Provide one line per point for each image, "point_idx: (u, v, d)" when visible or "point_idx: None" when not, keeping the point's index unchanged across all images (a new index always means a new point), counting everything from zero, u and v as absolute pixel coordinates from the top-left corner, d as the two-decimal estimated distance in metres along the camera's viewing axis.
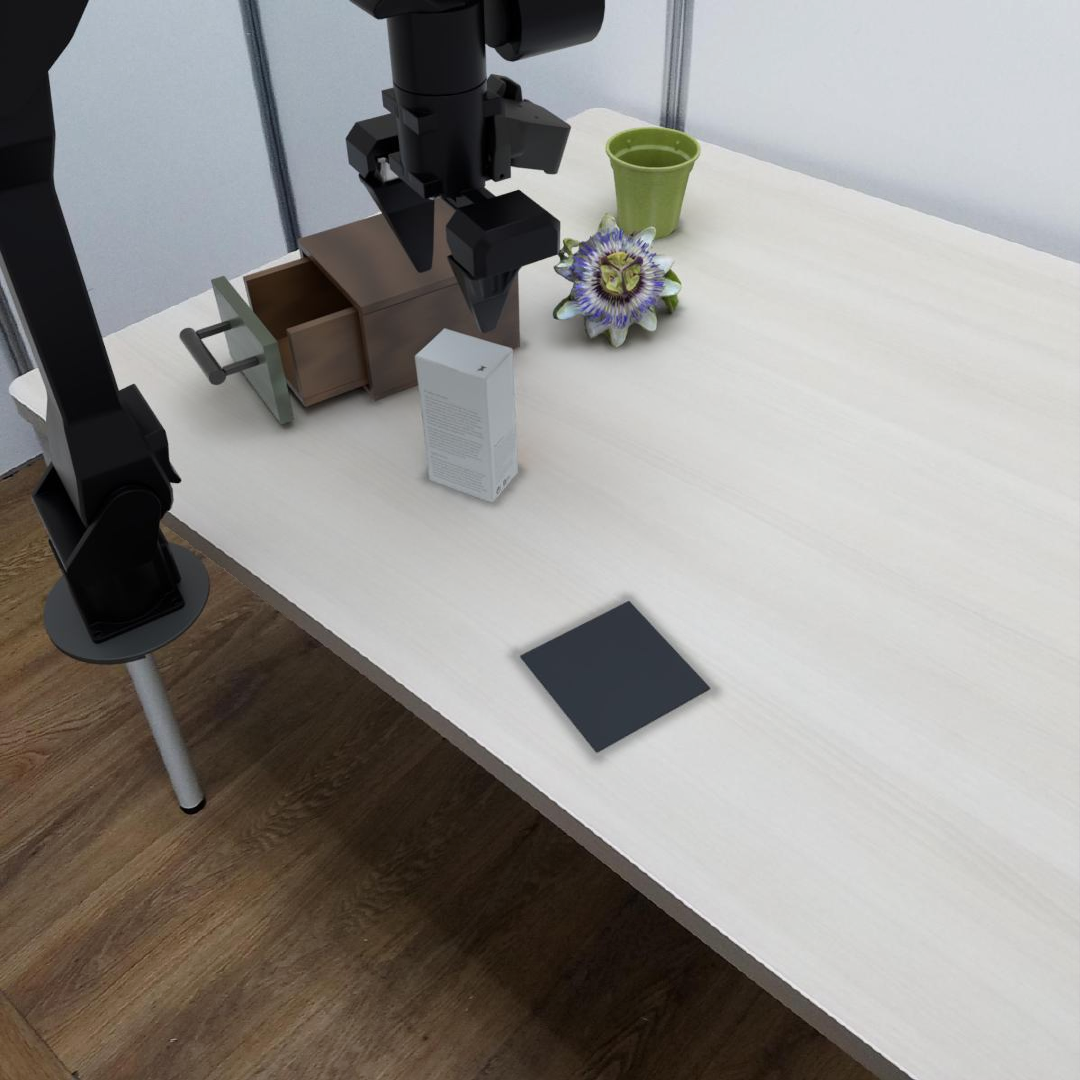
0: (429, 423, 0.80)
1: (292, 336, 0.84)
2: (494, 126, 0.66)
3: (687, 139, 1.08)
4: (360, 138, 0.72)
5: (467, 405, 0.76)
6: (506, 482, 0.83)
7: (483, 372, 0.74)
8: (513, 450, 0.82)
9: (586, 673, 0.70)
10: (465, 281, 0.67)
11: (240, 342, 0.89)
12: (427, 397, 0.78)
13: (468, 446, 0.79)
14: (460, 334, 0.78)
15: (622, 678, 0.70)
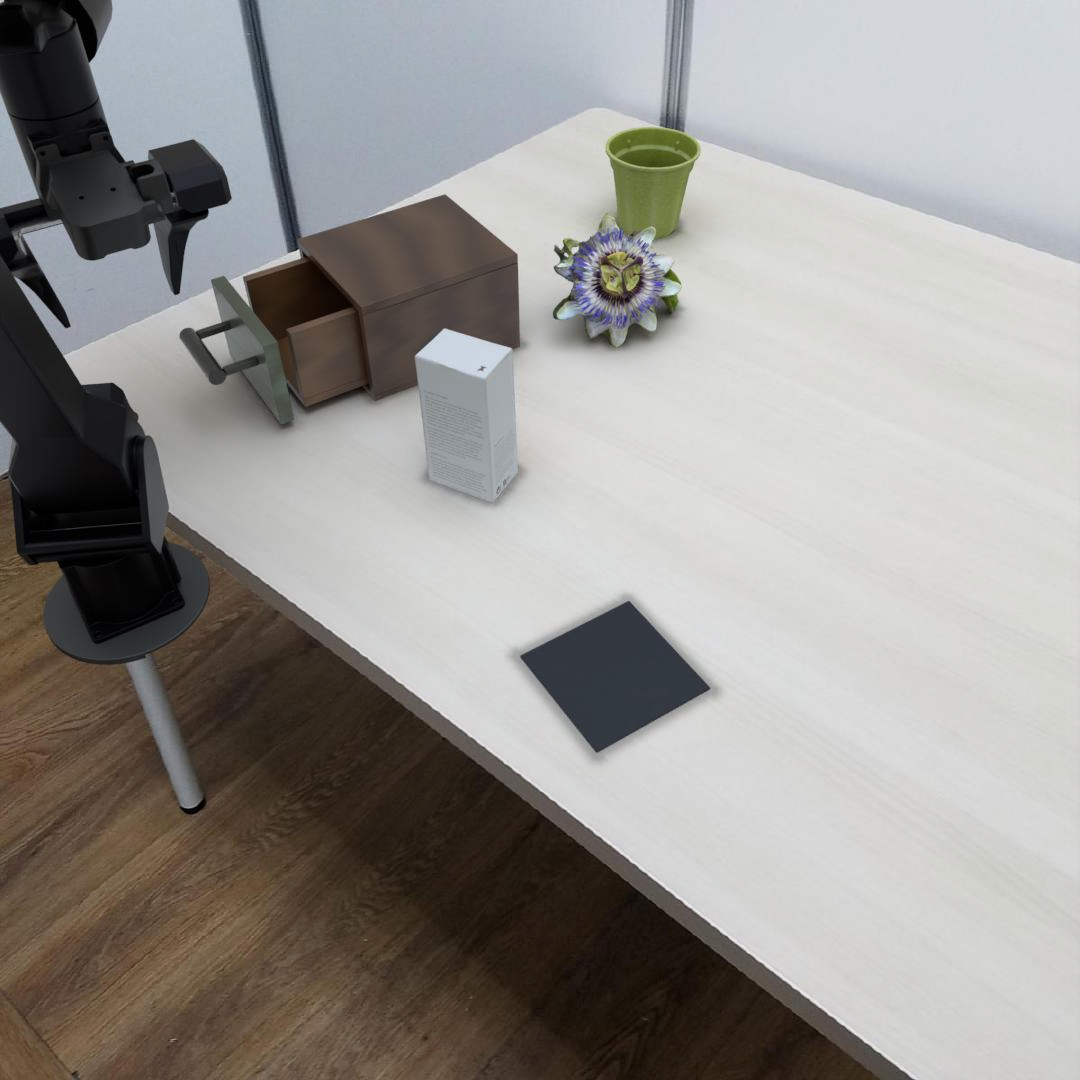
0: (429, 423, 0.80)
1: (292, 336, 0.84)
2: None
3: (687, 139, 1.08)
4: None
5: (467, 405, 0.76)
6: (506, 482, 0.83)
7: (483, 372, 0.74)
8: (513, 450, 0.82)
9: (586, 673, 0.70)
10: None
11: (240, 342, 0.89)
12: (427, 397, 0.78)
13: (468, 446, 0.79)
14: (460, 334, 0.78)
15: (622, 678, 0.70)
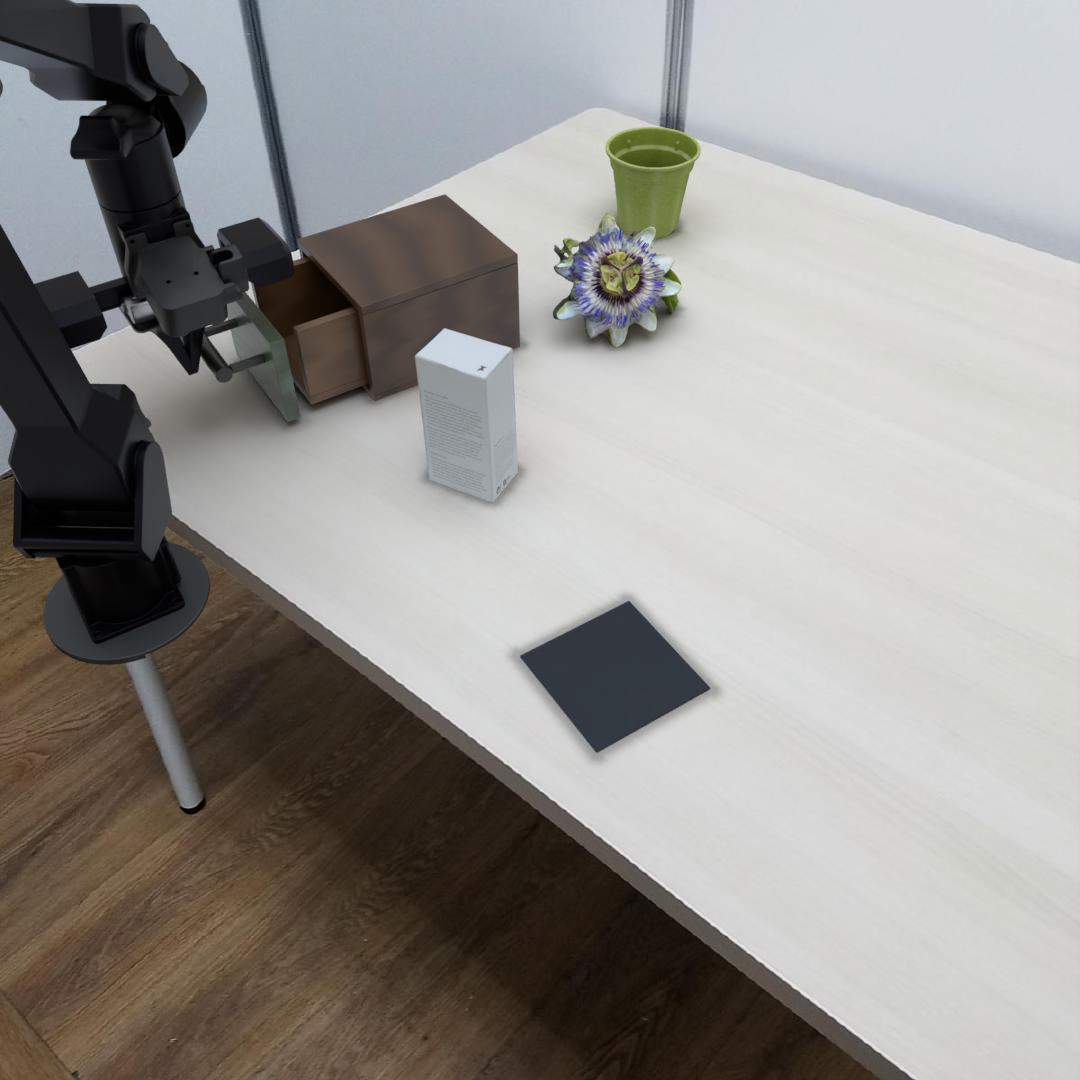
0: (429, 423, 0.80)
1: (299, 334, 0.84)
2: None
3: (687, 139, 1.08)
4: None
5: (467, 405, 0.76)
6: (506, 482, 0.83)
7: (483, 371, 0.74)
8: (513, 450, 0.82)
9: (586, 673, 0.70)
10: None
11: (246, 340, 0.89)
12: (427, 397, 0.78)
13: (468, 446, 0.79)
14: (460, 334, 0.78)
15: (622, 678, 0.70)
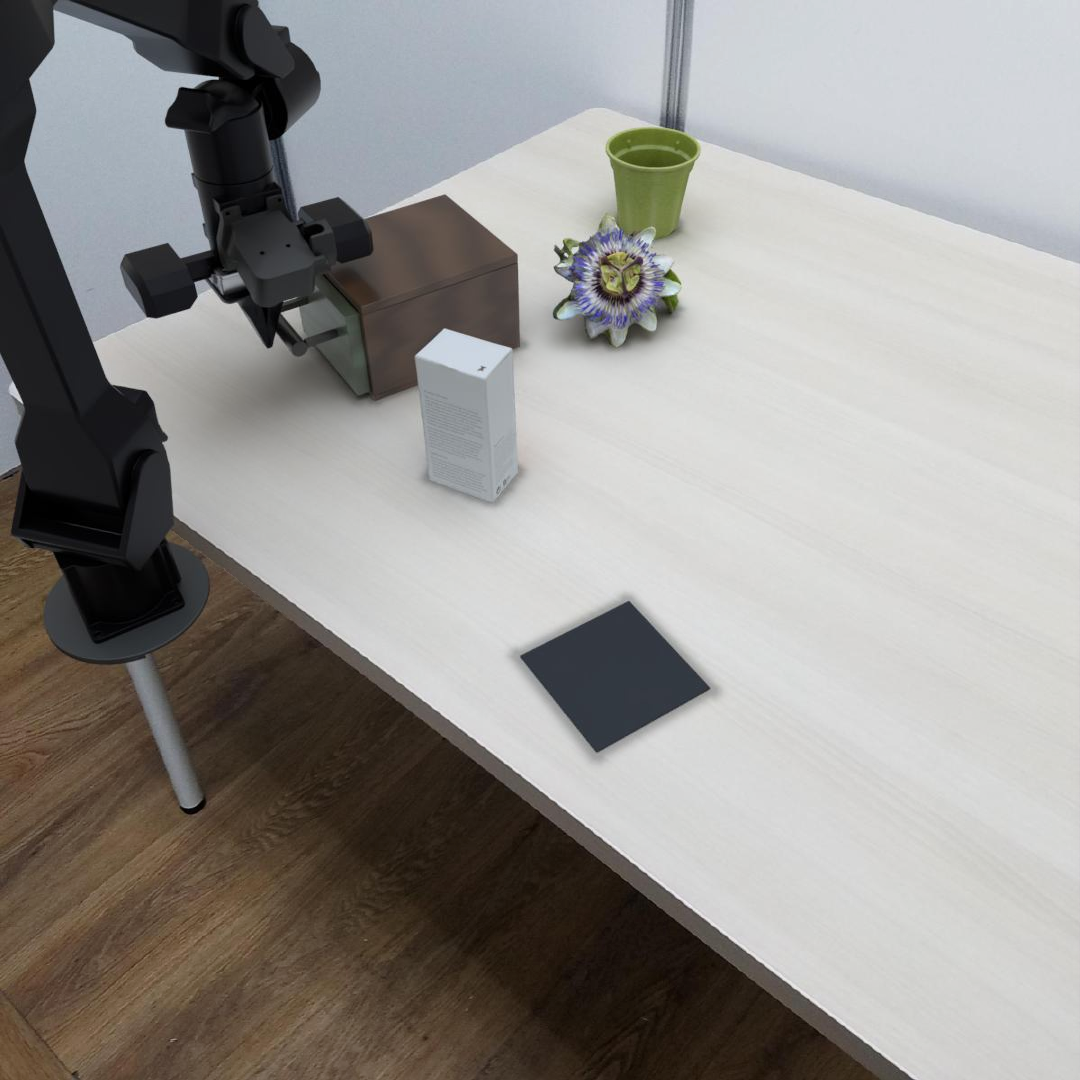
0: (429, 423, 0.80)
1: None
2: (220, 223, 0.78)
3: (687, 139, 1.08)
4: None
5: (467, 405, 0.76)
6: (506, 482, 0.83)
7: (483, 372, 0.74)
8: (513, 450, 0.82)
9: (586, 673, 0.70)
10: None
11: (317, 316, 0.91)
12: (427, 397, 0.78)
13: (468, 446, 0.79)
14: (460, 334, 0.78)
15: (622, 678, 0.70)
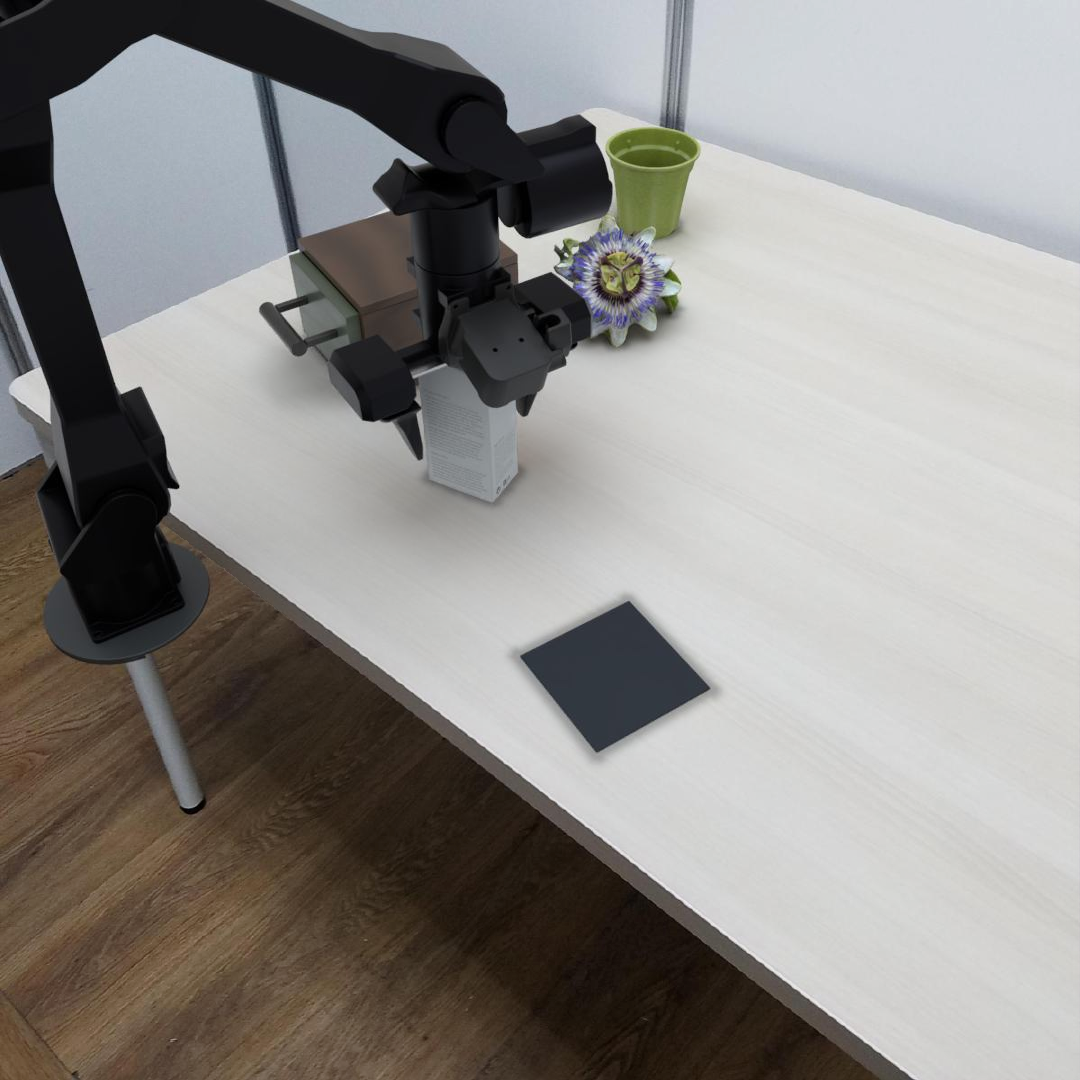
0: (429, 423, 0.80)
1: None
2: (445, 316, 0.70)
3: (687, 139, 1.08)
4: None
5: (467, 404, 0.76)
6: (506, 482, 0.83)
7: None
8: (513, 450, 0.82)
9: (586, 673, 0.70)
10: None
11: (317, 316, 0.91)
12: (428, 397, 0.78)
13: (468, 446, 0.79)
14: None
15: (622, 678, 0.70)
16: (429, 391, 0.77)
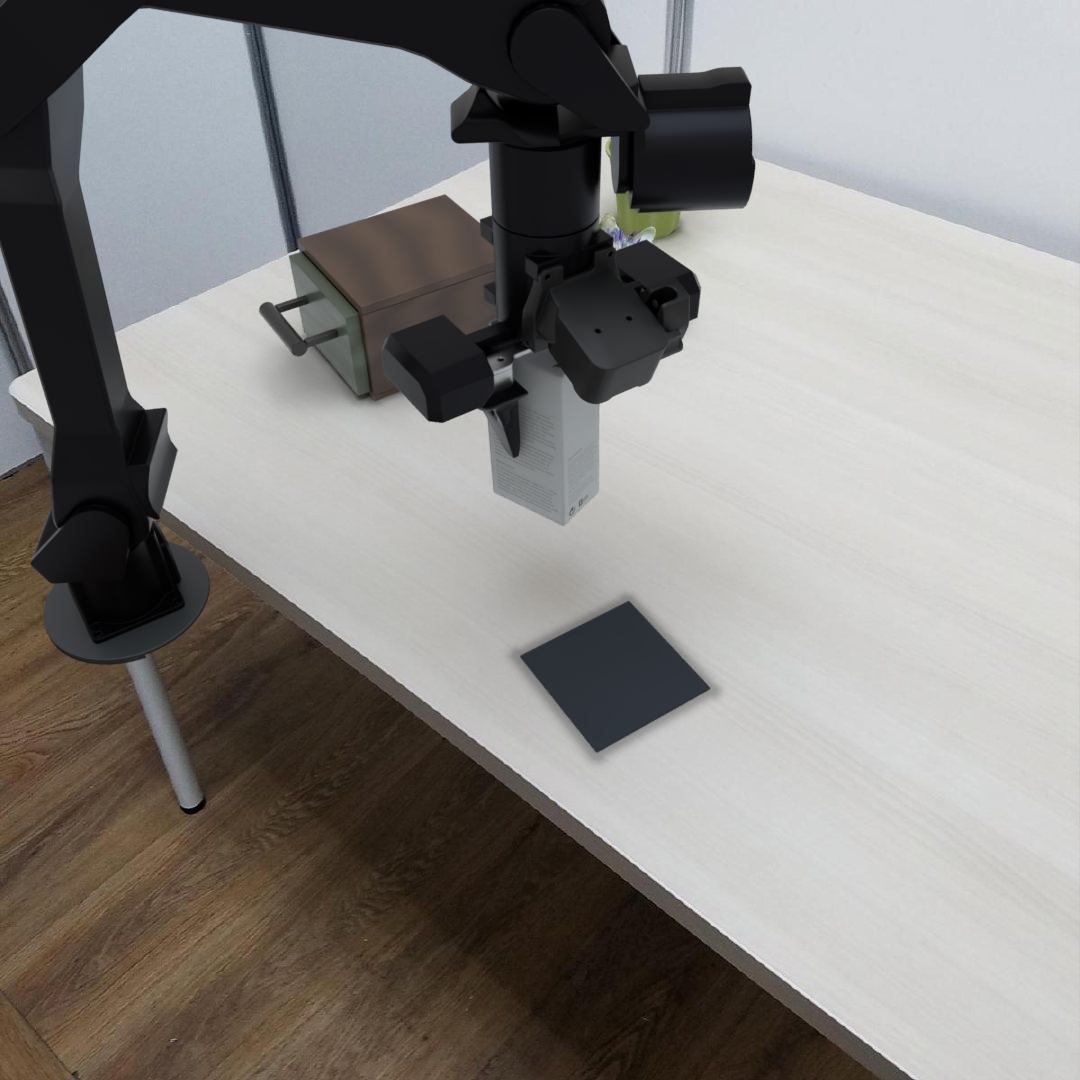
0: None
1: None
2: (532, 289, 0.56)
3: None
4: None
5: (538, 407, 0.63)
6: (583, 502, 0.69)
7: (559, 368, 0.61)
8: (594, 465, 0.69)
9: (586, 673, 0.70)
10: None
11: (317, 316, 0.91)
12: None
13: (538, 457, 0.66)
14: None
15: (622, 678, 0.70)
16: None
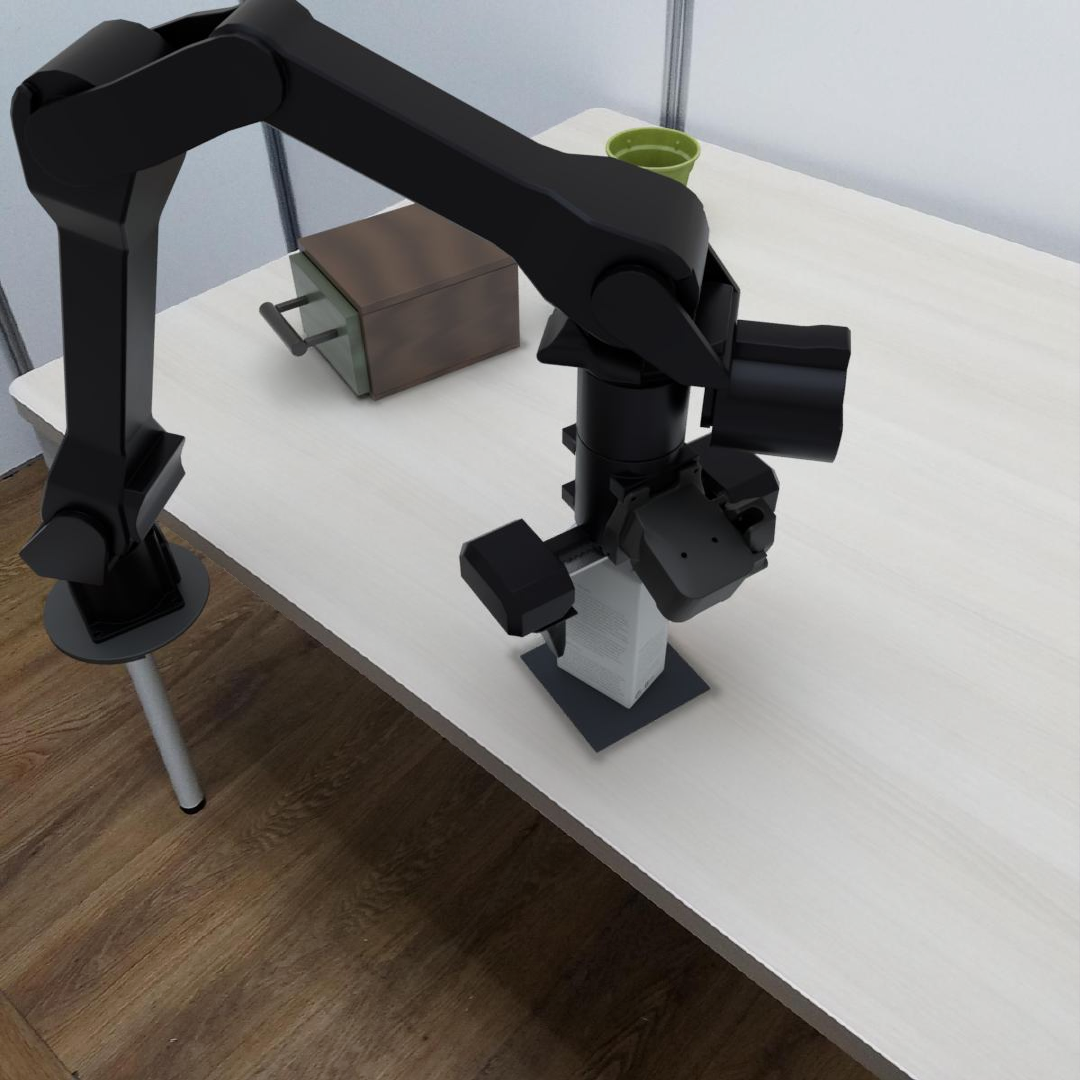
0: None
1: None
2: None
3: (687, 139, 1.08)
4: (697, 438, 0.64)
5: (613, 604, 0.62)
6: (648, 683, 0.69)
7: None
8: (662, 649, 0.68)
9: None
10: None
11: (317, 316, 0.91)
12: None
13: (608, 646, 0.65)
14: None
15: None
16: None
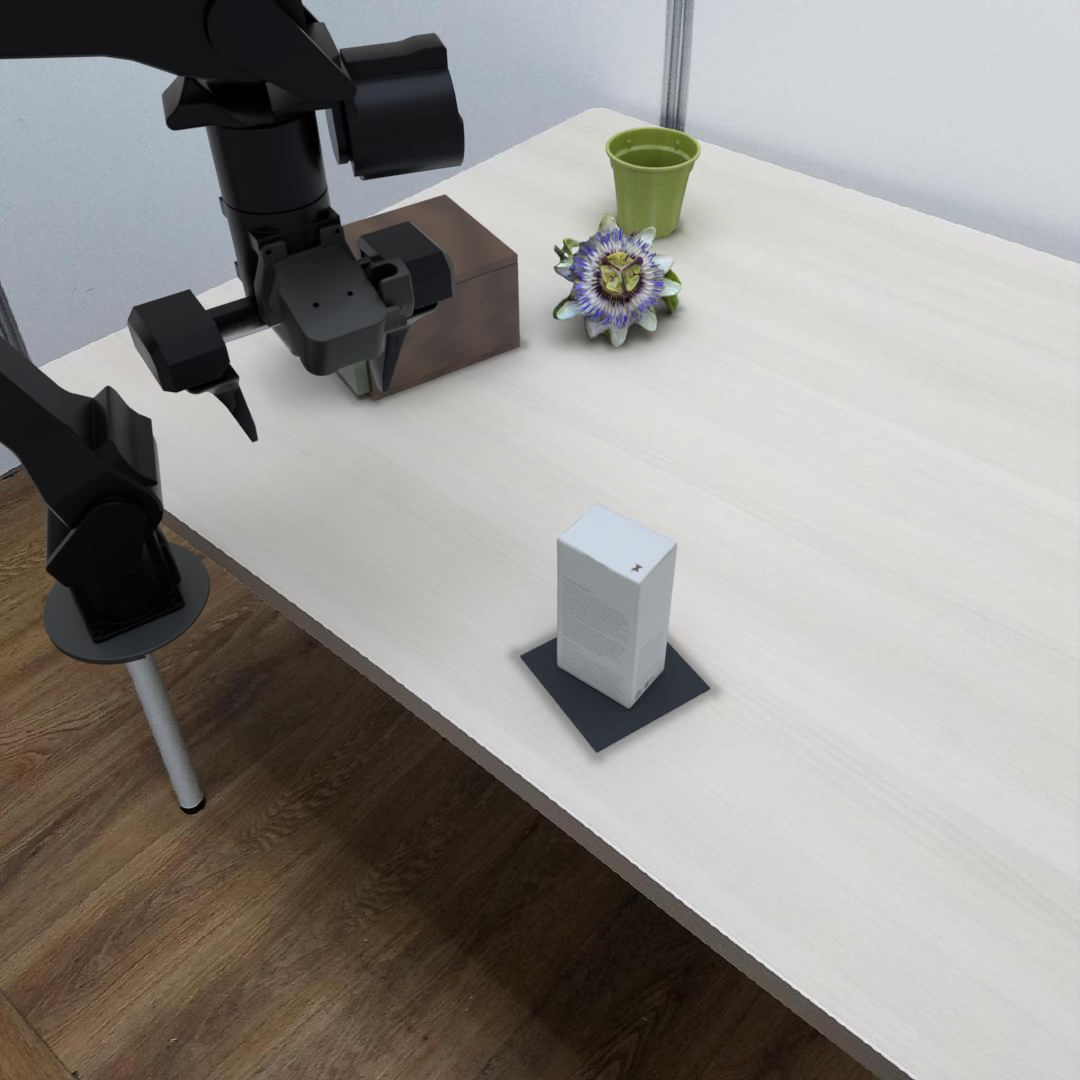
0: (565, 610, 0.66)
1: None
2: None
3: (687, 139, 1.08)
4: None
5: (613, 604, 0.62)
6: (648, 683, 0.69)
7: (638, 573, 0.60)
8: (662, 648, 0.68)
9: None
10: None
11: None
12: (566, 584, 0.64)
13: (607, 646, 0.65)
14: (615, 514, 0.64)
15: None
16: (568, 579, 0.64)
